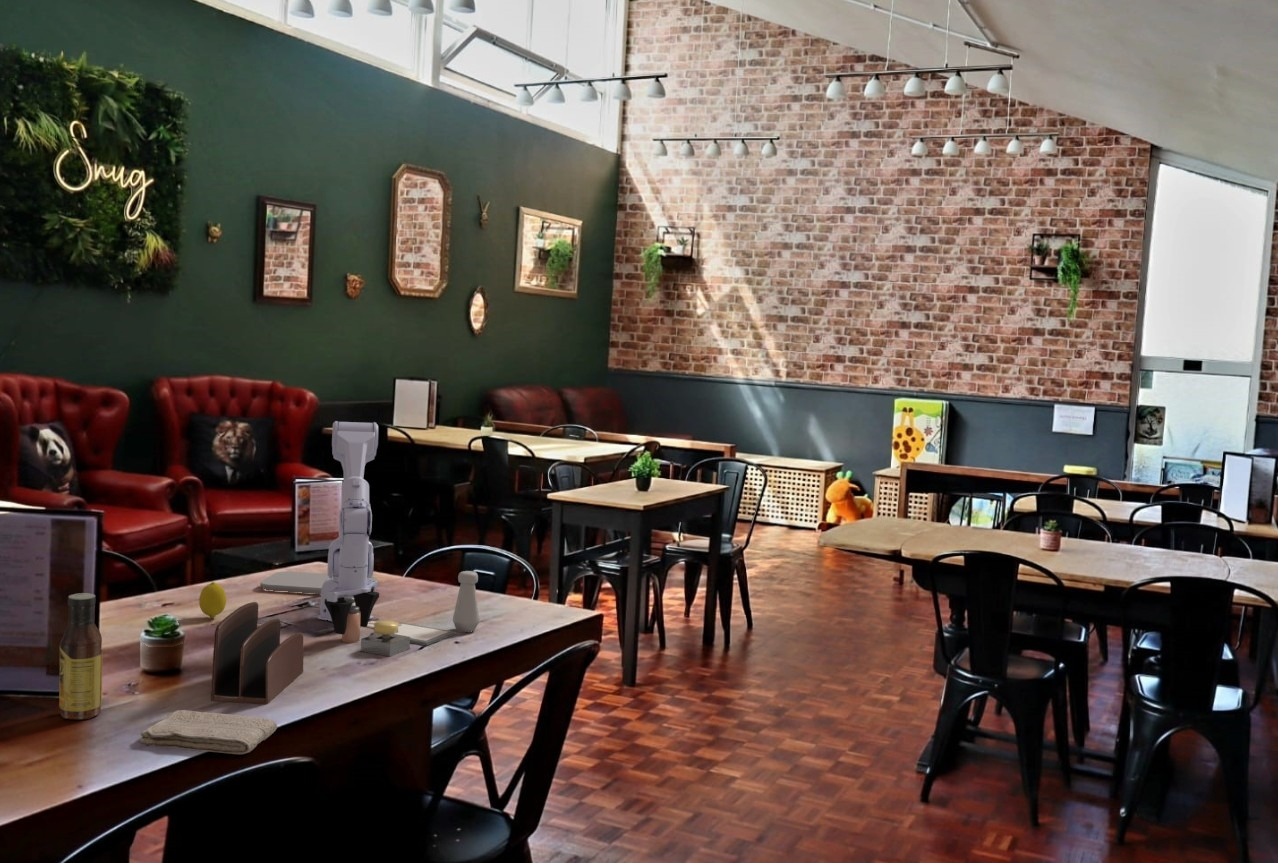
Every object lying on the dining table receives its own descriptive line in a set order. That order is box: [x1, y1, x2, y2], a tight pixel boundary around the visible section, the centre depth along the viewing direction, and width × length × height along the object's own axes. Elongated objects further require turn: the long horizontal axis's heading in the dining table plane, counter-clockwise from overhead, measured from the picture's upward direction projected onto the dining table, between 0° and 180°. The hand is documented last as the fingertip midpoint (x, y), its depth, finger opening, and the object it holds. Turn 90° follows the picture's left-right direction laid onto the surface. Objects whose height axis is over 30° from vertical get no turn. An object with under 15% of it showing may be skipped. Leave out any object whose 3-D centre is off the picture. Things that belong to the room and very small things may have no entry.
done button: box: [373, 620, 399, 640], centre depth 239 cm, size 5×5×4 cm
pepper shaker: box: [341, 606, 361, 644], centre depth 244 cm, size 4×4×7 cm
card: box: [366, 620, 377, 629], centre depth 258 cm, size 5×4×1 cm
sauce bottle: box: [58, 592, 103, 721], centre depth 189 cm, size 7×6×20 cm
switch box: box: [360, 633, 411, 657], centre depth 239 cm, size 7×7×2 cm
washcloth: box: [139, 709, 278, 755], centre depth 184 cm, size 12×18×3 cm, turn 85°
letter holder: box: [210, 601, 304, 705], centre depth 211 cm, size 10×20×14 cm, turn 178°
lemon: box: [198, 582, 227, 619], centre depth 256 cm, size 6×6×8 cm
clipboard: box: [370, 622, 456, 646], centre depth 252 cm, size 14×11×1 cm
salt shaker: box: [452, 570, 480, 633], centre depth 258 cm, size 6×6×13 cm
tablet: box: [259, 571, 378, 594], centre depth 291 cm, size 16×26×2 cm, turn 88°
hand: (351, 629), depth 244 cm, fingers open, 7 cm apart
